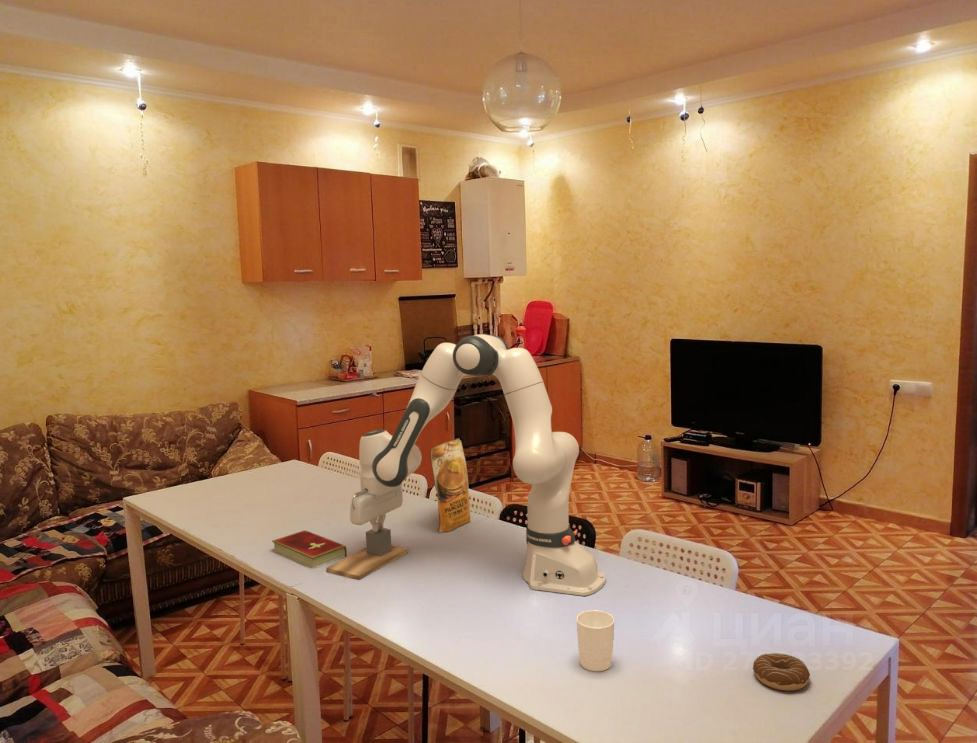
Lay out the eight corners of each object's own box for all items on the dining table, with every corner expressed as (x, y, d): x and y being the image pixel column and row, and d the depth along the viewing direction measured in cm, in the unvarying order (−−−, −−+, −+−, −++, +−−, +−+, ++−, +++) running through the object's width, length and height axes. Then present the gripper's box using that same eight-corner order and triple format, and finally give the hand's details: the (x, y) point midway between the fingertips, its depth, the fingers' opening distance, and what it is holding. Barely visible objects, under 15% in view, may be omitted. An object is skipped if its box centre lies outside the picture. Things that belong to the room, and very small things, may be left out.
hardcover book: (306, 541, 229) (305, 528, 228) (347, 557, 215) (346, 544, 215) (272, 553, 220) (272, 539, 220) (312, 570, 206) (312, 556, 206)
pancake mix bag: (426, 532, 234) (422, 447, 230) (462, 515, 249) (460, 435, 245) (442, 536, 230) (439, 450, 226) (478, 518, 245) (475, 438, 241)
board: (407, 552, 217) (407, 548, 216) (359, 580, 198) (358, 576, 198) (376, 545, 223) (376, 542, 223) (326, 571, 204) (326, 567, 204)
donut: (789, 701, 138) (790, 682, 138) (741, 677, 147) (742, 659, 146) (820, 682, 145) (820, 663, 144) (772, 660, 153) (772, 642, 152)
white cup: (610, 652, 157) (610, 609, 156) (618, 672, 149) (617, 627, 148) (574, 654, 157) (573, 610, 156) (580, 674, 149) (579, 628, 148)
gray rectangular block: (391, 550, 215) (390, 529, 214) (380, 556, 211) (379, 535, 210) (377, 547, 218) (376, 526, 217) (366, 553, 214) (365, 532, 213)
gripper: (360, 496, 201) (363, 543, 203) (405, 477, 219) (407, 521, 221) (343, 492, 204) (346, 539, 206) (388, 474, 222) (390, 518, 224)
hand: (378, 530), depth 214 cm, fingers closed
